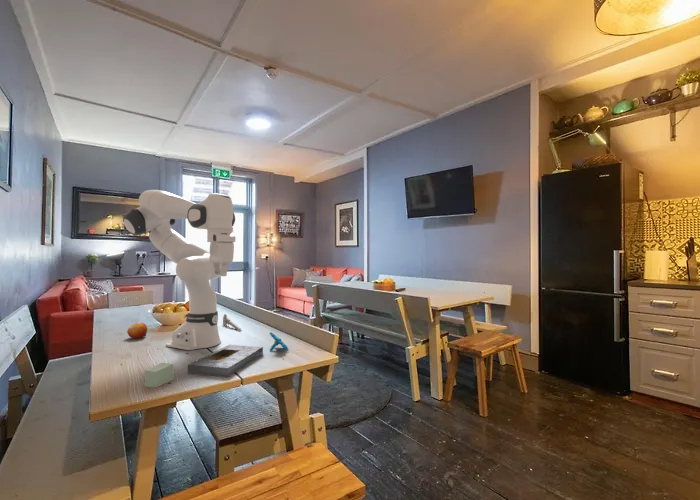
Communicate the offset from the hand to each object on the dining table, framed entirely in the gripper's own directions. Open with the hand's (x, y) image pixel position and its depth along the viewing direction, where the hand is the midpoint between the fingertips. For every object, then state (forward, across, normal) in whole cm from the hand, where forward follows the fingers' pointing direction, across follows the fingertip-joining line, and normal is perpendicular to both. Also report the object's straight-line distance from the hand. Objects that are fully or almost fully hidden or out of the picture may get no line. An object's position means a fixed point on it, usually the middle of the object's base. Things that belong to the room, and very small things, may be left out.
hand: (220, 275), depth 123 cm
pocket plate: (+32, +1, +3) cm, 32 cm away
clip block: (+33, +7, -20) cm, 39 cm away
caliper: (+33, -54, +19) cm, 66 cm away
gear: (+32, -4, +24) cm, 41 cm away
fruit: (+33, -60, -23) cm, 72 cm away
